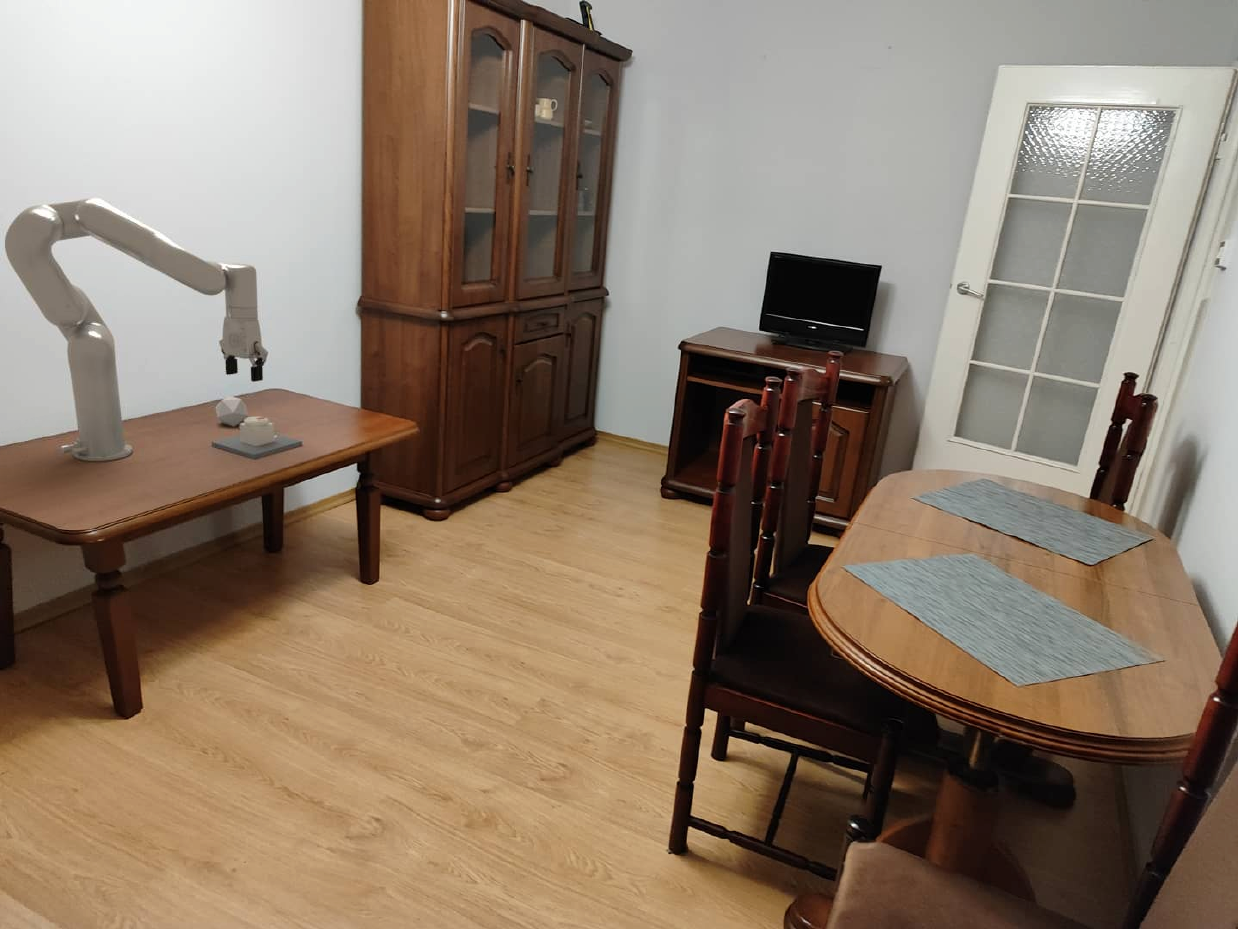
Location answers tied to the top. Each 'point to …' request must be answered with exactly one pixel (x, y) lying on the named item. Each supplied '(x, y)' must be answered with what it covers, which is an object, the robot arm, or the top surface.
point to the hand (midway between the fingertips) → (244, 377)
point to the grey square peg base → (253, 451)
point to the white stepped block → (256, 431)
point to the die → (231, 411)
